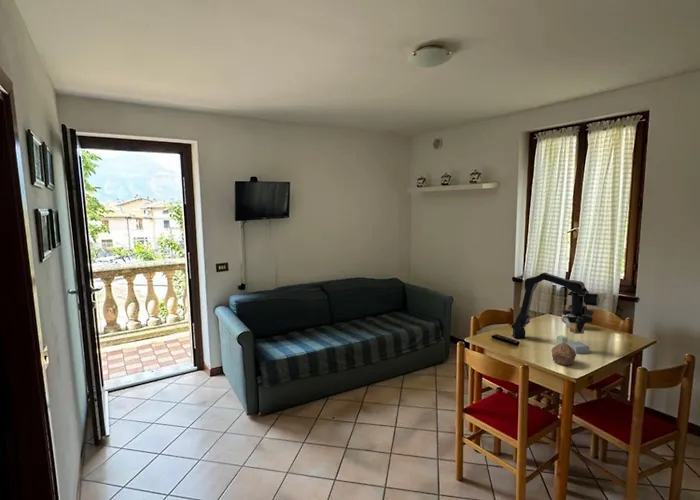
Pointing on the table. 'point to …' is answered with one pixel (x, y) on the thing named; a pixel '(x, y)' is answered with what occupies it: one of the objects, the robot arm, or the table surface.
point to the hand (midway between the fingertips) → (576, 330)
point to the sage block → (562, 339)
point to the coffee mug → (567, 321)
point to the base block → (578, 347)
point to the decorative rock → (563, 354)
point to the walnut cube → (575, 329)
